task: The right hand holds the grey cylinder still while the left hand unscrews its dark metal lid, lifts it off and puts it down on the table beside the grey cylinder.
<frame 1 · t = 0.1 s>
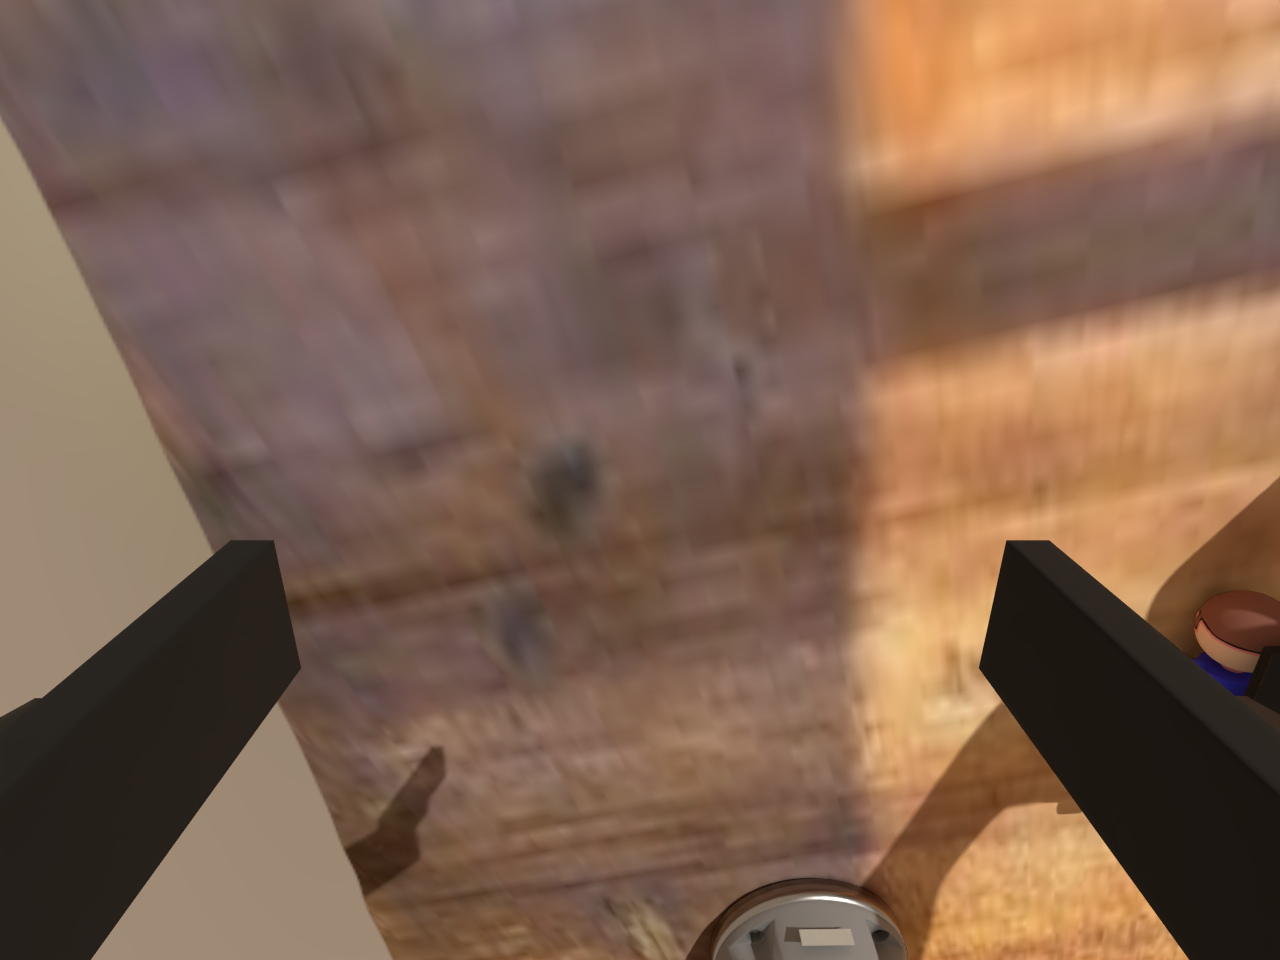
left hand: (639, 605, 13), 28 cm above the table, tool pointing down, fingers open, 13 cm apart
figurine character: (1195, 673, 47), on the table
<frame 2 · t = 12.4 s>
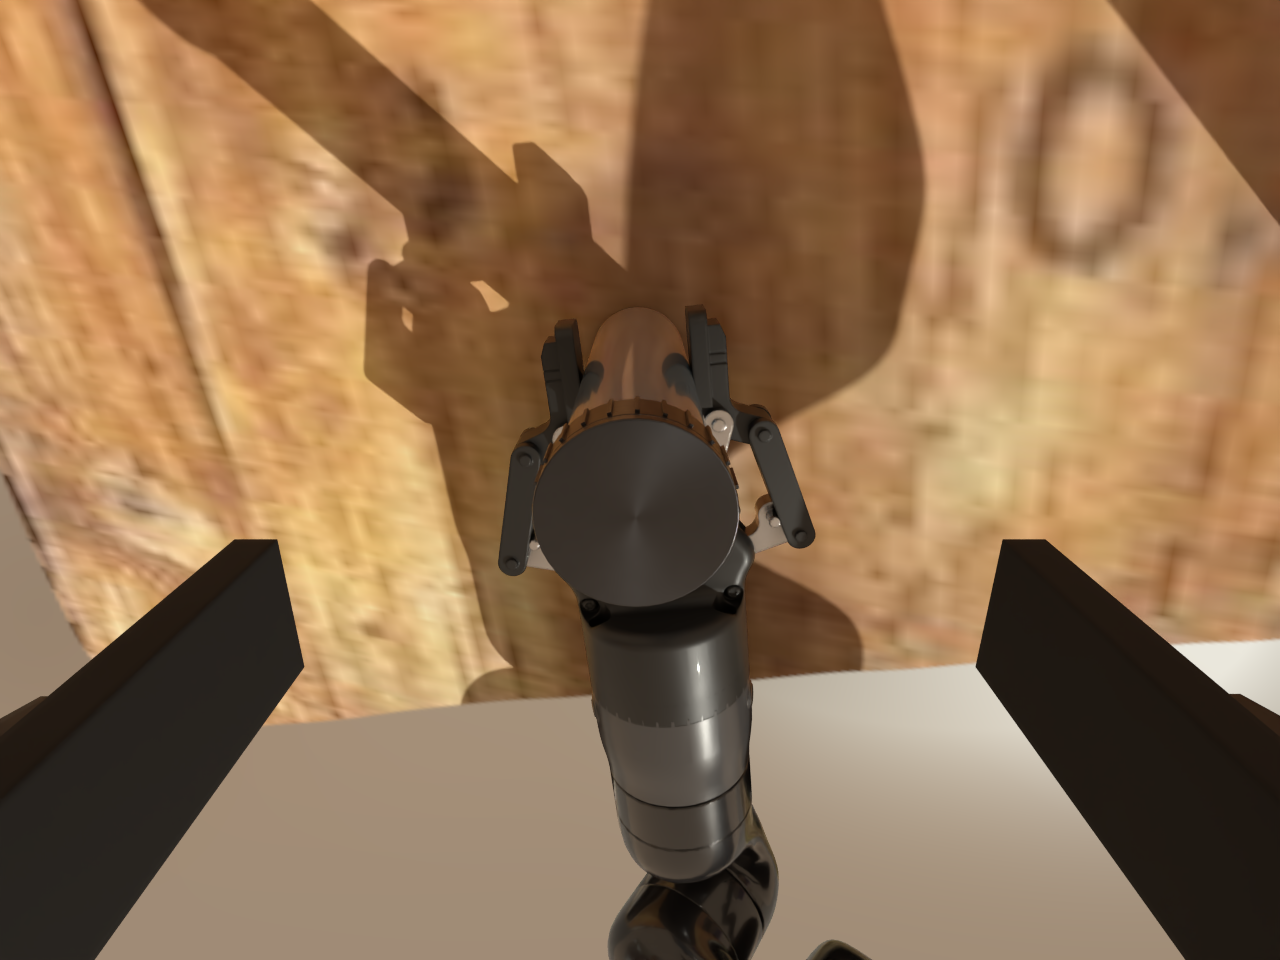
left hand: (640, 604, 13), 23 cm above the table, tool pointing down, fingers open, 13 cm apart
grey cylinder: (638, 352, 34), on the table, touching right hand
lid: (635, 511, 17), point 19 cm above the table, screwed on, not yet turned
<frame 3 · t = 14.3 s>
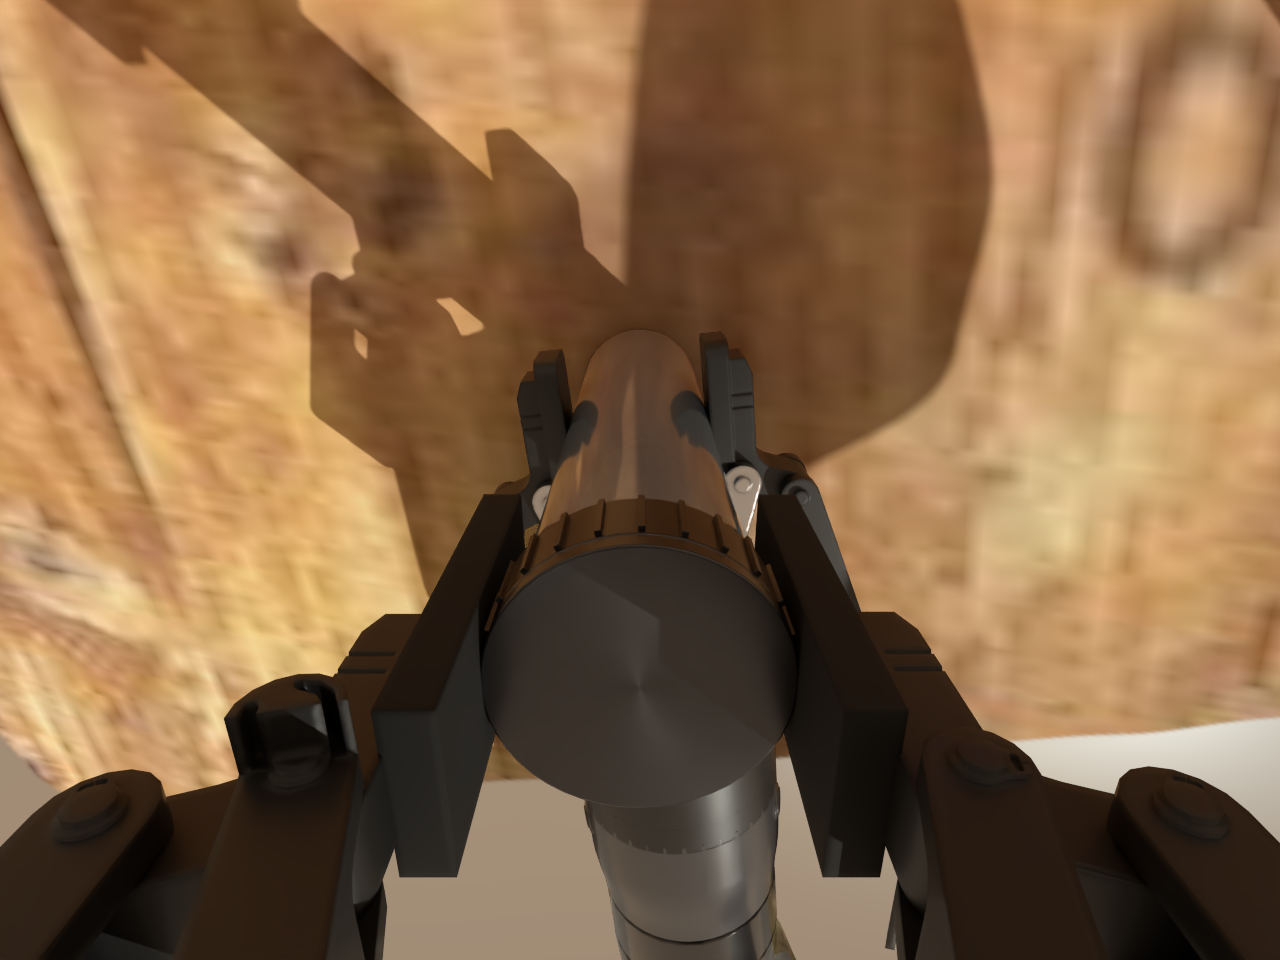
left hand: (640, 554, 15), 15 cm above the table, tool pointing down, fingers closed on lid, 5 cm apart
grey cylinder: (639, 384, 28), on the table, touching right hand
lid: (639, 673, 11), point 19 cm above the table, screwed on, not yet turned, touching left hand
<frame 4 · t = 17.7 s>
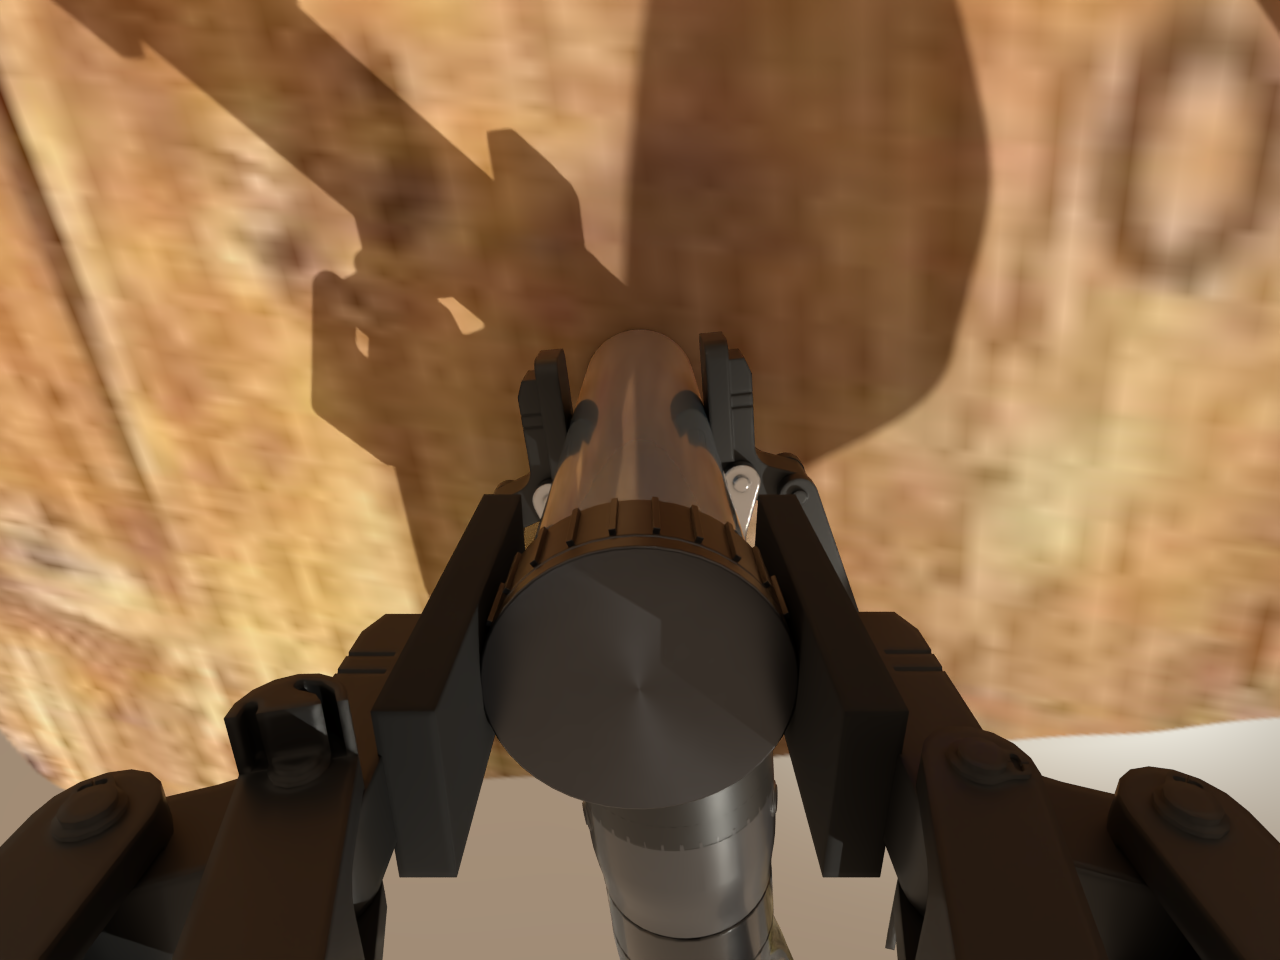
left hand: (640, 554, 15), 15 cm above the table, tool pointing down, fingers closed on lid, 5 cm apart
grey cylinder: (639, 383, 28), on the table, touching right hand
lid: (639, 675, 11), point 19 cm above the table, turned 115° so far, risen 0.2 cm, still on its thread, touching left hand
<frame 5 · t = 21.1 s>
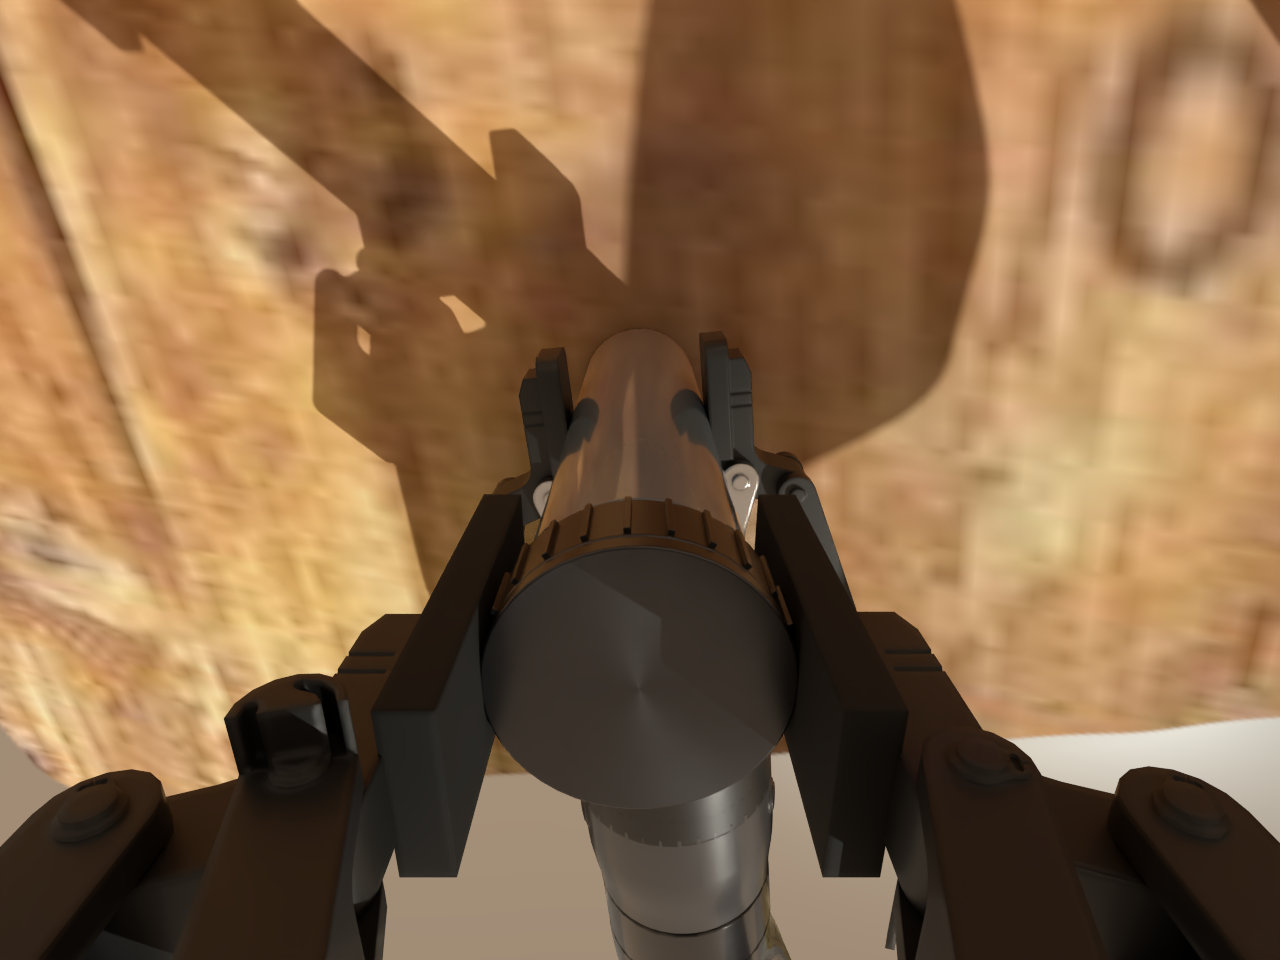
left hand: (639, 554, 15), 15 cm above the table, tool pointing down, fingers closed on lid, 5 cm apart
grey cylinder: (639, 382, 29), on the table, touching right hand
lid: (639, 674, 11), point 19 cm above the table, turned 231° so far, risen 0.3 cm, still on its thread, touching left hand
when the left hand's fingers open (0 cm above the table, at t = 31.2 s): lid drops 3 cm, point 1 cm above the table.
when the right hand's fingers open (6 cm above the table, at t = 31.8 s): grey cylinder stays where it is, on the table.
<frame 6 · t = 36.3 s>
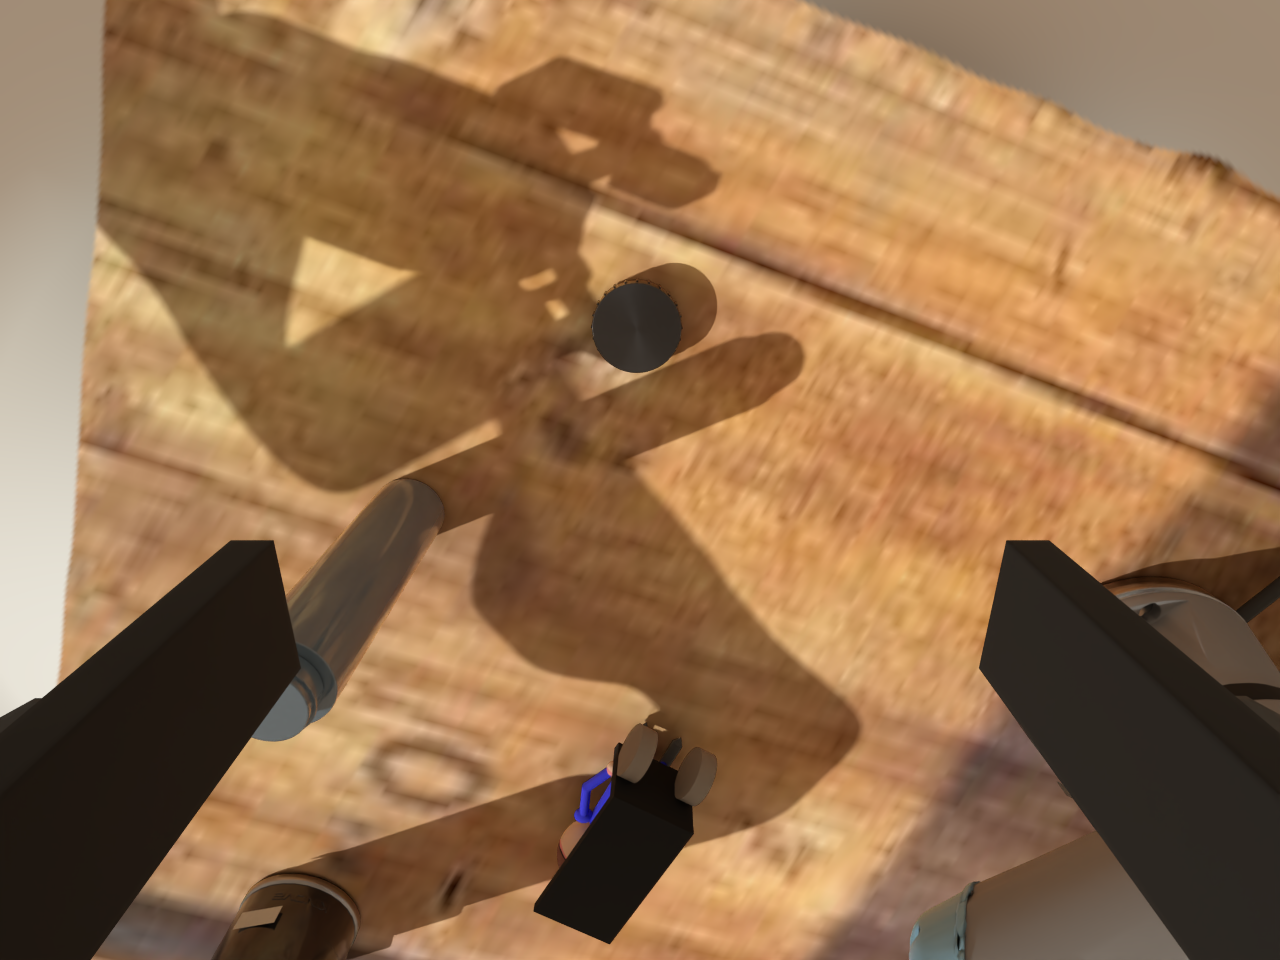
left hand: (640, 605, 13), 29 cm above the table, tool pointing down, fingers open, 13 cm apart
grey cylinder: (409, 510, 44), on the table
lid: (636, 327, 39), point 1 cm above the table, off its thread
figurine character: (625, 778, 52), on the table
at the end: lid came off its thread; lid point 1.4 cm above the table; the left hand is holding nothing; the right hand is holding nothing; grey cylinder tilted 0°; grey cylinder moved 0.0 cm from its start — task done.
